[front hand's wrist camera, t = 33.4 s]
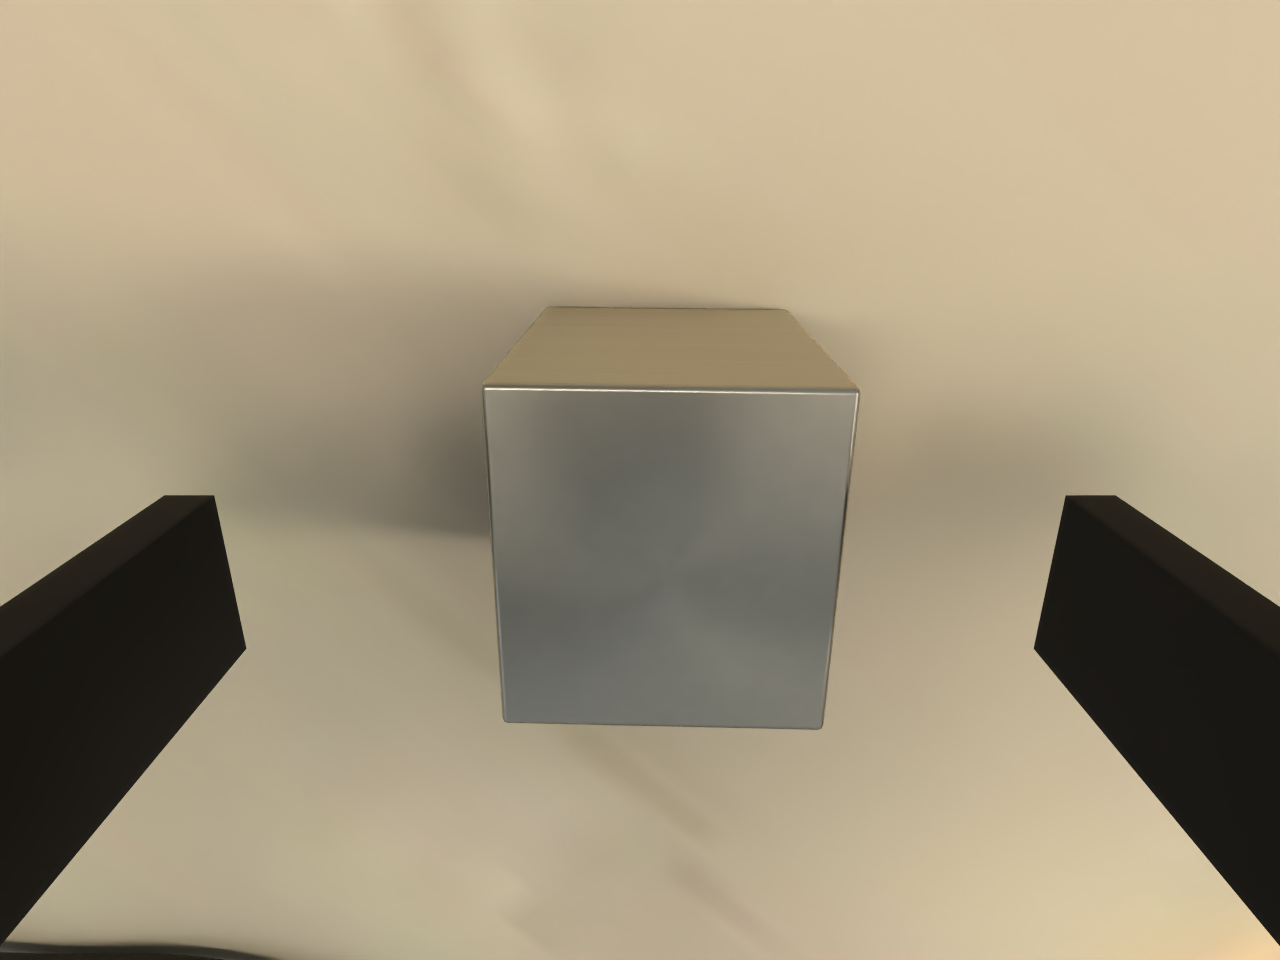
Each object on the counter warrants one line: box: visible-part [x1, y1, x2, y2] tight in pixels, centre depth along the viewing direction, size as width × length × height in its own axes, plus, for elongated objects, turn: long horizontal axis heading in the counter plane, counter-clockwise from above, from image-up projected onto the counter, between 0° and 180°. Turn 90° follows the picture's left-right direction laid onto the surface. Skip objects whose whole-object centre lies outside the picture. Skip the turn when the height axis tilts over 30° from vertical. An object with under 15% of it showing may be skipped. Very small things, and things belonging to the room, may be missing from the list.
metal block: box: [481, 307, 860, 730], centre depth 16 cm, size 6×6×7 cm
